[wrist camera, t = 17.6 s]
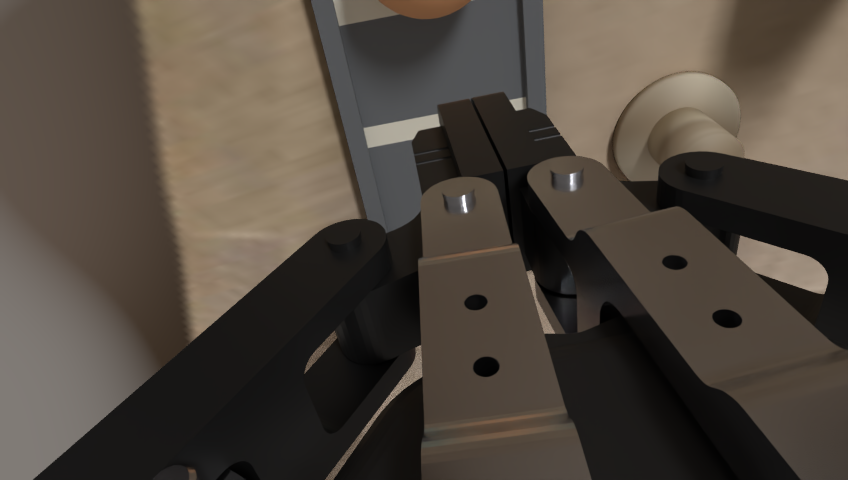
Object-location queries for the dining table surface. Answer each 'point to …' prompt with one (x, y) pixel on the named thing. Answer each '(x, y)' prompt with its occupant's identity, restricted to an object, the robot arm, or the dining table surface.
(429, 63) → the lane
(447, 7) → the ball
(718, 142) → the beige brimmed cylinder
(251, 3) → the dining table surface
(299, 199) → the dining table surface
